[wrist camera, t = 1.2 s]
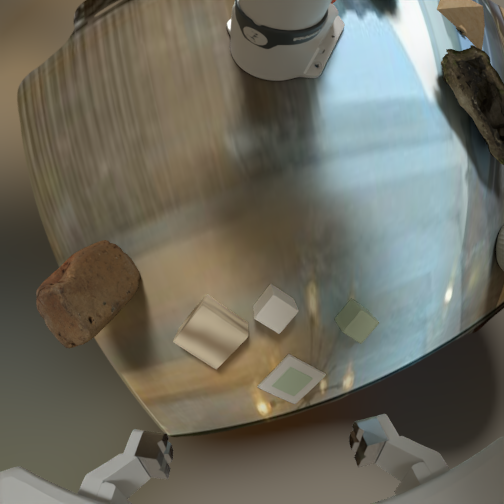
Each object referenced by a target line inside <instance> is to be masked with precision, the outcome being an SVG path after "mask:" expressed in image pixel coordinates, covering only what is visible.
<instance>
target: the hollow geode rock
mask: <svg viewBox="0 0 504 504" xmlns="http://www.w3.org/2000/svg"><path fill="white" fill-rule="evenodd" d="M470 46H471V45H470ZM446 50H447V49H446ZM447 52H448V54H446V55H445V56H444V57H443V60H442V62H441V65H442V67H443V72H444V77H443V80H444V81H445V82H446V83H447V84H448V85H450V87H451V89H452V90H453V92H454V94H455V96H456V98H457V99H458V102H459V105H460V106H461V107H463V108H464V109H465V110H466V112H467V113H468V114H469V115H470V116H471V117H472V118H473V120H474V122H475V124H476V127H477V128H478V129H479V131H480V133H481V134H482V136H483V138H484V140H485V142H486V143H487V145H488V148H489V151H490V154H491V155H492V156H494V157H495V158H496V159H497V160H498V161H499V162H500V163H501V164H503V165H504V84H503V82H502V80H501V78H500V76H499V74H498V73H497V71H496V70H495V69H494V68H493V67H492V66H491V64H490V58H489V56H488V55H487V54H486V53H485V52H484V51H482V50H481V49H479V48H477V47H475V46H471V48H469V49H466V50H463V51H455V50H452V49H448V50H447Z"/></svg>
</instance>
